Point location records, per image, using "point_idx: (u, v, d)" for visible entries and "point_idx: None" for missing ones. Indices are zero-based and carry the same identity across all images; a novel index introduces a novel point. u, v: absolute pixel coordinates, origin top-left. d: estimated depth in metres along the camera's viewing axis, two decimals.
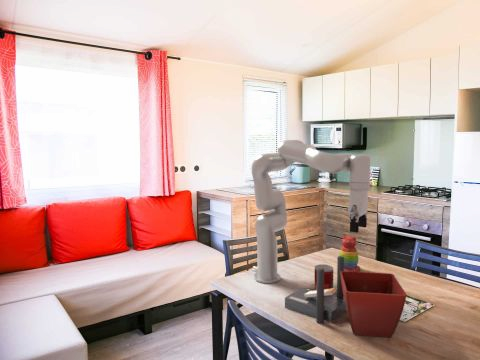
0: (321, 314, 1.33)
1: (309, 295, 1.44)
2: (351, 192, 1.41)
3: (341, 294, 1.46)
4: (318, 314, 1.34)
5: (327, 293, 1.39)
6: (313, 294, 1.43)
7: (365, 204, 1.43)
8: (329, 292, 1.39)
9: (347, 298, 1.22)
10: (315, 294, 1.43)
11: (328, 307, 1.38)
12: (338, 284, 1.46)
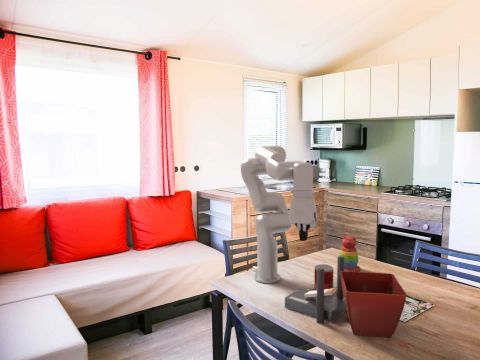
0: (321, 314, 1.33)
1: (309, 295, 1.44)
2: (311, 200, 1.40)
3: (341, 294, 1.46)
4: (318, 314, 1.34)
5: (327, 293, 1.39)
6: (313, 294, 1.43)
7: None
8: (329, 292, 1.39)
9: (347, 298, 1.22)
10: (315, 294, 1.43)
11: (328, 307, 1.38)
12: (338, 284, 1.46)
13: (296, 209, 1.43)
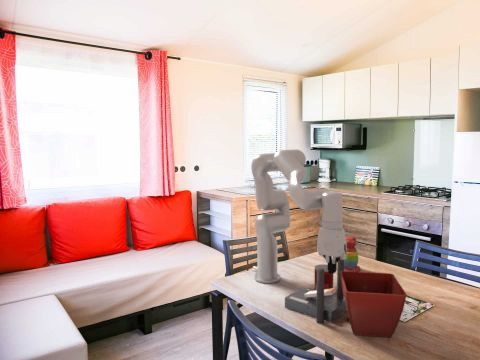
0: (321, 314, 1.33)
1: (309, 295, 1.44)
2: (341, 232, 1.34)
3: (341, 294, 1.46)
4: (318, 314, 1.34)
5: (327, 293, 1.39)
6: (313, 294, 1.43)
7: None
8: (329, 292, 1.39)
9: (347, 298, 1.22)
10: (315, 294, 1.43)
11: (328, 307, 1.38)
12: (338, 284, 1.46)
13: (324, 241, 1.37)
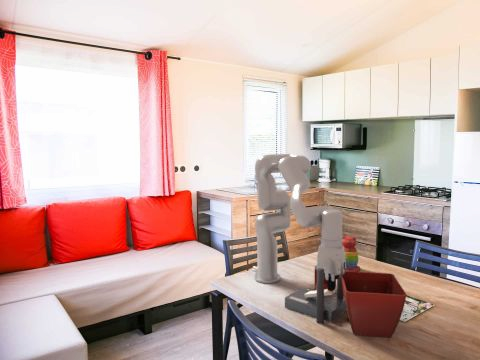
0: (321, 314, 1.33)
1: (309, 295, 1.44)
2: (340, 250, 1.34)
3: (341, 294, 1.46)
4: (318, 314, 1.34)
5: (327, 293, 1.39)
6: (313, 294, 1.43)
7: None
8: (329, 292, 1.39)
9: (347, 298, 1.22)
10: (315, 294, 1.43)
11: (328, 307, 1.38)
12: (338, 284, 1.46)
13: (324, 258, 1.38)
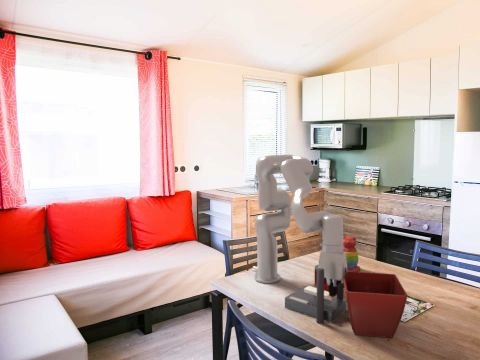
0: (321, 314, 1.33)
1: (309, 291, 1.44)
2: (342, 255, 1.34)
3: (341, 294, 1.46)
4: (318, 314, 1.34)
5: (328, 297, 1.39)
6: (313, 292, 1.43)
7: None
8: (330, 297, 1.39)
9: (347, 298, 1.22)
10: (315, 293, 1.43)
11: (328, 307, 1.38)
12: None
13: (325, 263, 1.38)
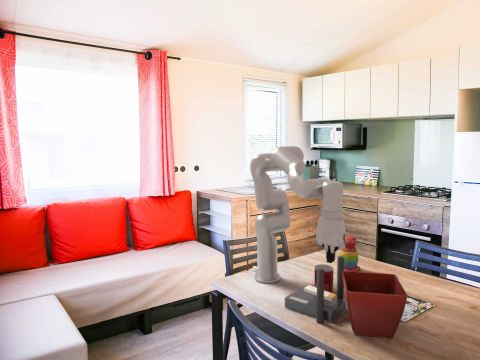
0: (321, 314, 1.33)
1: (309, 291, 1.44)
2: (341, 222, 1.33)
3: (341, 294, 1.46)
4: (318, 314, 1.34)
5: (328, 298, 1.39)
6: (313, 292, 1.43)
7: None
8: (330, 298, 1.39)
9: (347, 298, 1.22)
10: (315, 293, 1.43)
11: (328, 307, 1.38)
12: (338, 284, 1.46)
13: (324, 230, 1.37)
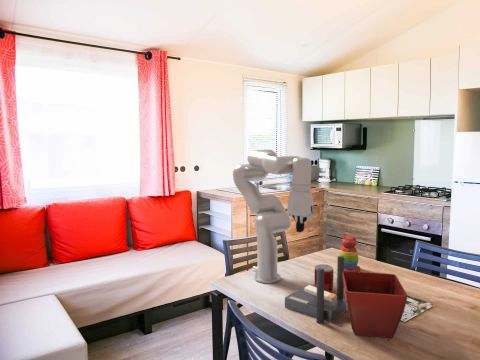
0: (321, 314, 1.33)
1: (309, 291, 1.44)
2: (308, 194, 1.47)
3: (341, 294, 1.46)
4: (318, 314, 1.34)
5: (328, 298, 1.39)
6: (313, 292, 1.43)
7: None
8: (330, 298, 1.39)
9: (347, 298, 1.22)
10: (315, 293, 1.42)
11: (328, 307, 1.38)
12: (338, 284, 1.46)
13: (293, 202, 1.51)
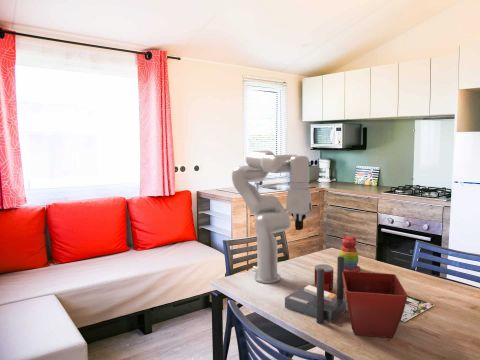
0: (321, 314, 1.33)
1: (309, 291, 1.44)
2: (306, 192, 1.48)
3: (341, 294, 1.46)
4: (318, 314, 1.34)
5: (328, 298, 1.39)
6: (313, 292, 1.43)
7: None
8: (330, 298, 1.39)
9: (347, 298, 1.22)
10: (315, 293, 1.42)
11: (328, 307, 1.38)
12: (338, 284, 1.46)
13: (292, 200, 1.51)
